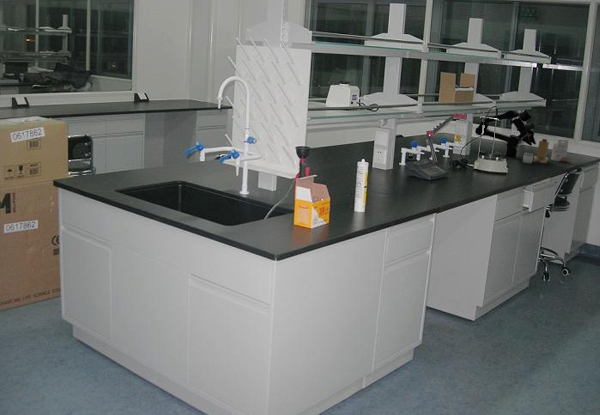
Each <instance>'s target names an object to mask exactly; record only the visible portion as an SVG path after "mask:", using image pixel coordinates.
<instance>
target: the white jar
mask: <svg viewBox="0 0 600 415" xmlns="http://www.w3.org/2000/svg"><path fill="white" fill-rule="evenodd" d="M534 156H535V154H534V153H531V152H523V157H522V163H524V164H525V163H526V164H533V160H534Z"/></svg>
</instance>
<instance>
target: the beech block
mask: <svg viewBox="0 0 600 415" xmlns="http://www.w3.org/2000/svg"><path fill="white" fill-rule="evenodd" d="M536 156H537V155H533V160H532V162H535V163H542V164H548V161H549V157H546V158H539V157H536Z"/></svg>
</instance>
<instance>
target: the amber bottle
mask: <svg viewBox="0 0 600 415" xmlns="http://www.w3.org/2000/svg"><path fill="white" fill-rule="evenodd" d="M549 144H550V142H549V141H548V139H546V138H542V139H541V140H539V143H538V147H537V151H536V152H537V153H536V155H535V156H536V157H539V158H547V153H548V149H549Z"/></svg>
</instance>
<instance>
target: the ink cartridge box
mask: <svg viewBox="0 0 600 415" xmlns="http://www.w3.org/2000/svg"><path fill="white" fill-rule="evenodd" d="M568 146H569V140H567V139H558V140H557V143H556V142H553V146H552V150H551V152H552V153H551V157H550V160H552V161H554V162H566V160H567V159H566V158H567V153H568Z"/></svg>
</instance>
